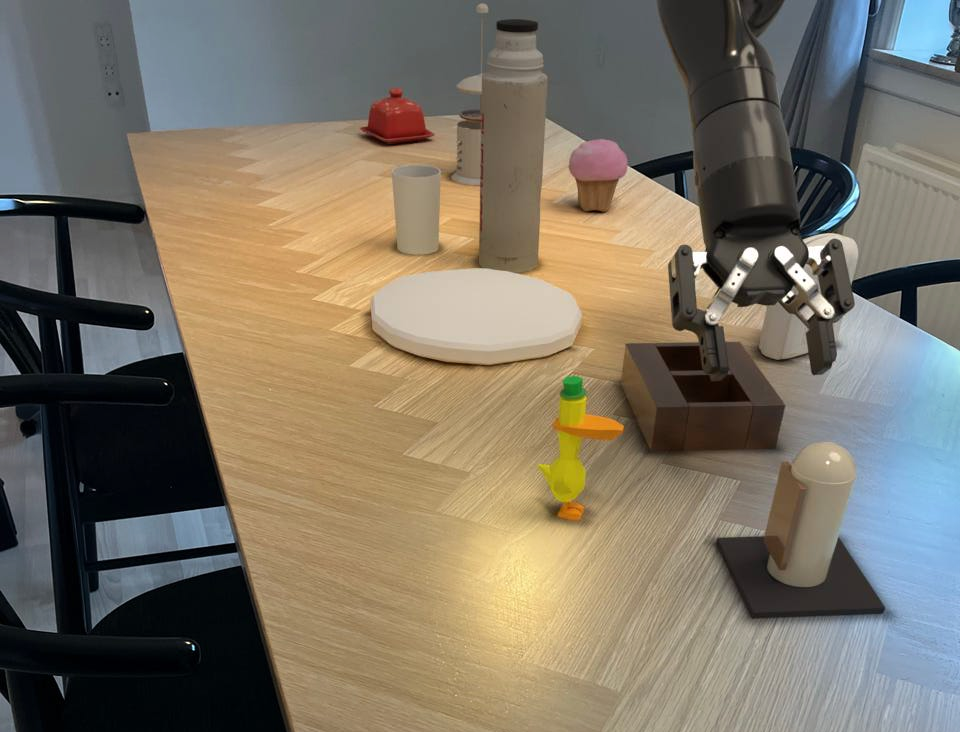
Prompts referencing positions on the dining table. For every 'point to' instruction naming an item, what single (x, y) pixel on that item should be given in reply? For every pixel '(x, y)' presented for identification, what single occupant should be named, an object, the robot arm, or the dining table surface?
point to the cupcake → (597, 172)
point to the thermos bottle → (512, 149)
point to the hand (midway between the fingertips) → (771, 374)
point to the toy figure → (574, 446)
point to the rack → (699, 399)
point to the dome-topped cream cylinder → (808, 513)
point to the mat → (776, 599)
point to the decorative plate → (475, 316)
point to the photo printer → (787, 330)
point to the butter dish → (396, 120)
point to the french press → (470, 127)
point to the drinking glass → (417, 208)
